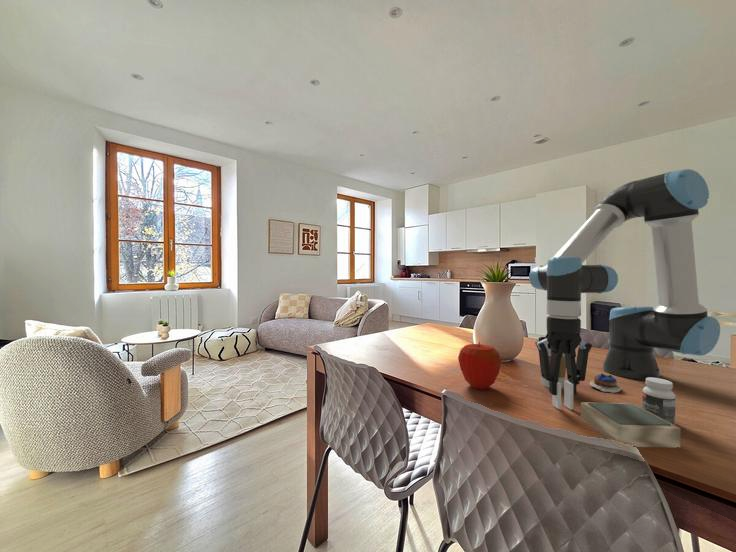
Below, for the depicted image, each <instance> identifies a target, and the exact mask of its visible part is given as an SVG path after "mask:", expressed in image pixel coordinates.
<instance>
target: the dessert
mask: <svg viewBox="0 0 736 552" xmlns="http://www.w3.org/2000/svg"><path fill="white" fill-rule="evenodd" d="M600 373H601V374H597V375H595V376H594V379H592V380H590V381H589V385H590V387H593V388H595V389H598V390H599V391H601V392H605V393H606V392H607V393H608V392H609V393H610V394H614V393H619V392H621V390H622V387H621V386H620V385H618V382H617V379H616V377H614V376H613V375H612V374H604V373H602V372H600Z"/></svg>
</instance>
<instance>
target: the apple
mask: <svg viewBox="0 0 736 552" xmlns="http://www.w3.org/2000/svg"><path fill="white" fill-rule="evenodd" d="M457 358H458V364H459V368H460V370H461V374H462V376H463V378H464V381H466V383H468V385H470V387H471V388H473V389H476V390H480V391H484V390H486V389H488V388H489V387H491V386H492V385H494V384H495V382H496V380H497V377H498V375H499V374H500V369H501V363H502V358H501V356H500V353H499V351H498V350H497V349H496V348H494V347H493V346H491V345H487V344H481V342H480V341H479V342H478V343H469V344H466V345H464V346H463V347H461V348H460V350H459V353H458V357H457Z"/></svg>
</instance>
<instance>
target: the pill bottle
mask: <svg viewBox="0 0 736 552" xmlns="http://www.w3.org/2000/svg"><path fill="white" fill-rule="evenodd" d="M644 383H645V385H646V386H644V387H643V388H642V396H641V397H642V398H641V399H642V402H641V403H642V404H641V405H642V406H641V408H643V409H645V410H647V411H648V412H650V413H652V414H654V415H656V416H658V417H660V418H662V419H664V420H666V421H668V422H669V423H671V424H673V425H675V426H676V394H675V393H674V392H673V391H672V389H674V383H673V382H672V381H670V380H668V379H664V378H661V377H660V378H652V377H648V378H646V380H645V382H644Z"/></svg>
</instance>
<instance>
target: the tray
mask: <svg viewBox="0 0 736 552" xmlns="http://www.w3.org/2000/svg"><path fill="white" fill-rule="evenodd" d="M580 419H581V421H583V422H585V423H586V424H588V426H590V427H591V428H593V429H594V431H597V432H598V433H599V434H601V435H602V436H604V437H605V438H606V439H607V438H609V439H612V440H615V441H618V442H622V443H624V444H629V445H633V446H636V448H638V447H639V448H677V447H679V448H681V430H682V429H681V428H682V427H679V426H677V425H676V424H675V425H673V424H671V423H669V422H668V421H666V420H664V419H662V418H660V417H658V416H656V415H654V414H652V413H650V412H648V411H647V410H645V409H643V408H642V406H640V405H639V406H638V405H637V404H635V403H633V402H629V403H628V402H586V401H585V402H580ZM609 439H608V440H609ZM679 448H678V449H679Z"/></svg>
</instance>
